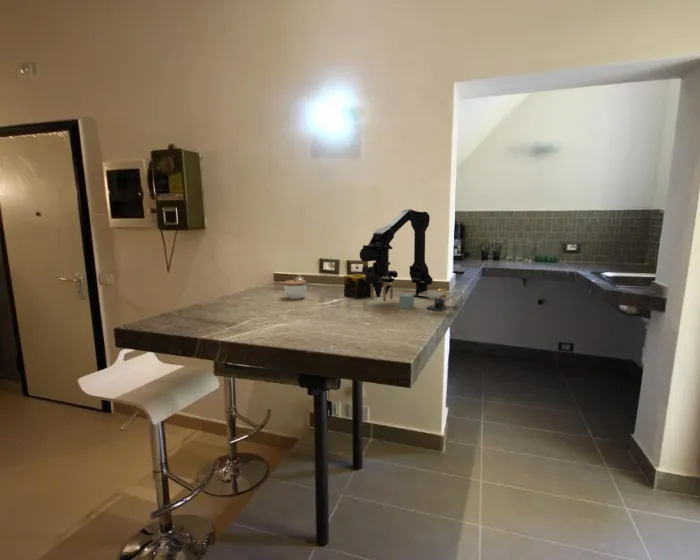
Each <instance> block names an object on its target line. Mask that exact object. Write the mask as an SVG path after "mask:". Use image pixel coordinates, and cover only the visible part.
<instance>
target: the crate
mask: <svg viewBox="0 0 700 560" xmlns="http://www.w3.org/2000/svg"><path fill="white" fill-rule="evenodd" d="M388 285H390V288H389V290H390V291H389V294H390V295H389V298H390V300H392V299H393V298H394V291H393V290H394V282H392V283H391V282H384V283H383V287H382V289H383V293H382V294H383V298H382V300H383V302H386V301H387V294H386V286H388ZM370 300H372V301H373V300H374V287H373V285H372V284H371V296H370Z"/></svg>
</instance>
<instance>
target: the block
mask: <svg viewBox="0 0 700 560" xmlns="http://www.w3.org/2000/svg"><path fill="white" fill-rule="evenodd" d="M414 295H415V294H408V293H407V294H406V293H404V294H401V295H399V300H398V301H399V303H398V304H399V306H398V307H399V308H401V309H406V310H407V309H408V310H410V309H412V308H414V306H415V296H414Z"/></svg>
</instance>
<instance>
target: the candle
mask: <svg viewBox="0 0 700 560" xmlns="http://www.w3.org/2000/svg"><path fill="white" fill-rule="evenodd" d="M365 277H366V276H365V274H360V273H358V274H349V275H344V276H343V279H344V282H343V284H344V287H343V292H344V293H343V296H344V297H348V298H353V299H357V300H358V299H363V298H371V283H369V282H366V281H365Z"/></svg>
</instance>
